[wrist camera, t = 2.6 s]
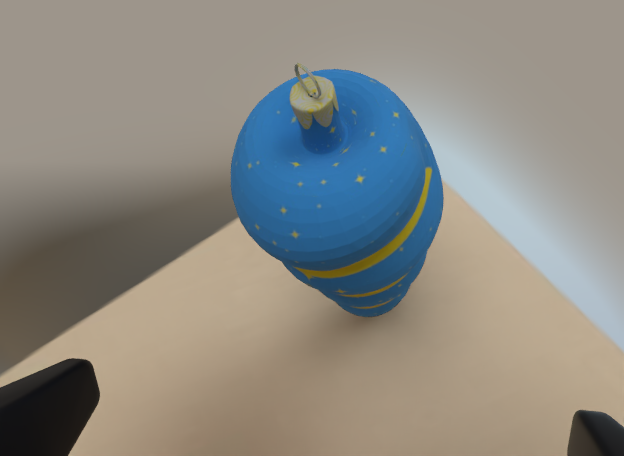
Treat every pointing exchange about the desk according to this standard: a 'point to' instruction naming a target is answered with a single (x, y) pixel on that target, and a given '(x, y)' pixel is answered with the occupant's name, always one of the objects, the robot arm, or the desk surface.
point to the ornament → (339, 187)
